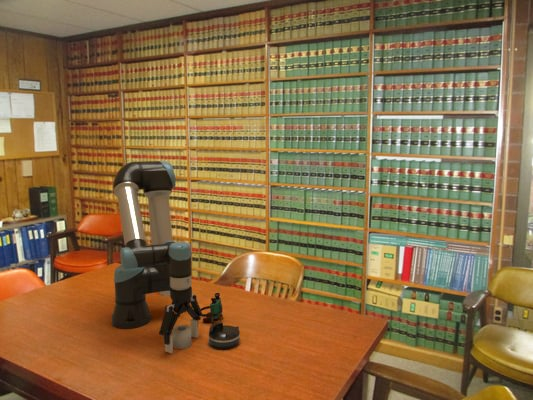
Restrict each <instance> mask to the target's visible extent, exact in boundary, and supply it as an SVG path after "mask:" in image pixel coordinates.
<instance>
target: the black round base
mask: <svg viewBox="0 0 533 400" xmlns="http://www.w3.org/2000/svg"><path fill="white" fill-rule="evenodd" d="M208 330H209V331H208V345H209V347H211V348H213V350H219V351H220V350H221V351H225V350H232V349H234V348H237V347H238V346H239V345H240V341H241V340H240V337H241V335H240V334H241V332H240V326H234V325H225V324H224V322H223V321H220V322H219V323H213V324H212V325H210V326H209V329H208Z"/></svg>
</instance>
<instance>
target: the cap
mask: <svg viewBox="0 0 533 400" xmlns="http://www.w3.org/2000/svg"><path fill="white" fill-rule="evenodd" d="M172 336H173V348H174V349H177V350H184V349H188V348H190V347H191V346H192V336H191V325H188V324H180V325H175V326H174V328H173V330H172Z"/></svg>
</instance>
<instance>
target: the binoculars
mask: <svg viewBox="0 0 533 400" xmlns="http://www.w3.org/2000/svg"><path fill="white" fill-rule="evenodd" d="M220 294H221V293H219V292H215V293H214V297H211V298H210V301H211V302H210V303H209V305H208V306H207V305H206V306H204V307H202V308H201V307H200V310H201V312H203V311H204V310H208V309H209V311H210V312H207V313H202V316H201V317H202V322H203V323H209V322H212V323H213V324H215V323H219V322H221V320H222V319H223V318H224V315H223V308H224V307H223V304H222V299H221V297H220V296H221V295H220Z"/></svg>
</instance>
